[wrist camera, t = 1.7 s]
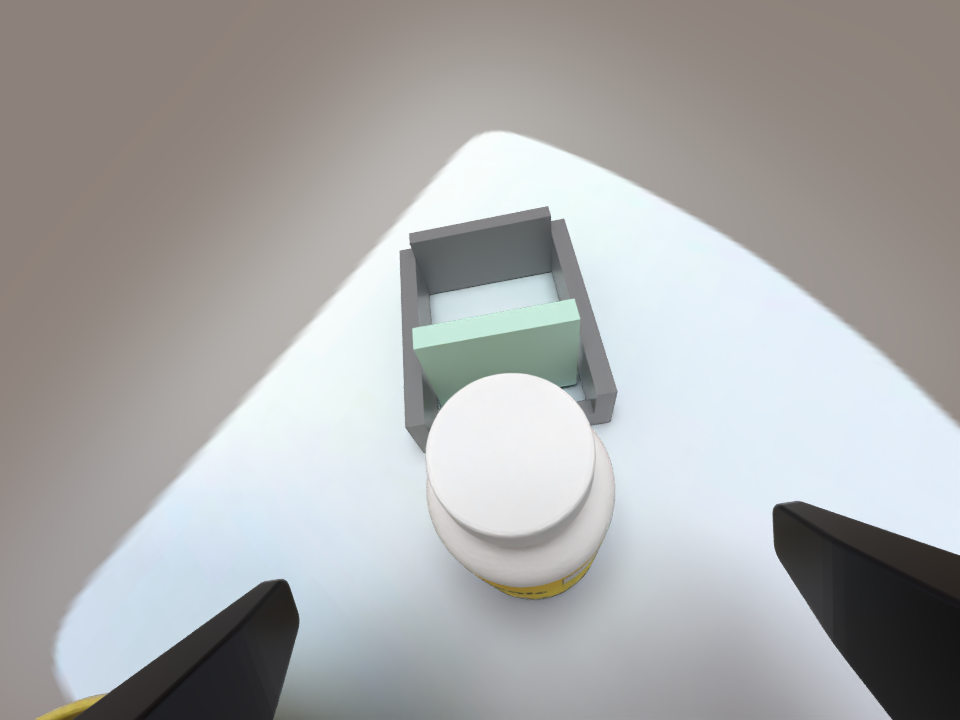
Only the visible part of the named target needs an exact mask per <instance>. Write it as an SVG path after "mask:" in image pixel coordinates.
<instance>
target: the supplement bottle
mask: <svg viewBox="0 0 960 720" xmlns="http://www.w3.org/2000/svg"><path fill="white" fill-rule="evenodd" d="M425 459H426V470H427V503H428V508H429V513H430V517H431V520H432V523H433V525H434V528H435V530H436V532H437V534H438V536H439V537H440V539H441V541H442V542H443V544H444V545H445V547H446V548H447V549H448V551H449V552H450V553H451V554H452V555H453V556H454V557H455V558H456V559H457V560H458V561H459V562H460V563H461V564H462V565H463V566H464V567H465V568H466V569H468V570H469V571H471V572H472V573H474V574H475V575H476V576H477V577H479V578H481V579H482V580H484V581H485V582H487V583H488V584H490V585H492V586H493V587H495V588H496V589H498V590H500V591H502V592H504V593H506V594H508V595H511V596H514V597H517V598H522V599H531V600H533V599H545V598H550V597H553V596H556V595H558V594H561V593H563V592H564V591H566V590H568V589H569V588H571V587H572V586H573V585H575V584H576V583H577V582H578V581H579V580H580V579H581V578H582V577H583V576H584V575H585V574H586V572H587V571H588V569H589V568H590V566H591V564H592V562H593V560H594V558H595V556H596V554H597V552H598V550H599V548H600V546H601V543H602V541H603V539H604V537H605V535H606V533H607V530H608V528H609V525H610V522H611V518H612V515H613V509H614V502H615V479H614V473H613V468H612V464H611V461H610V458H609V455H608V453H607V451H606V448H605V446H604V444H603V443H602V441H601V439H600V438H599V436H598V435H597V433H596V432H595V431H594V430H593V429H592V427H591V426H590V423H589V421H588V419H587V417H586V415H585V413H584V412H583V410H582V409H581V407H580V406H579V405H578V403H577V402H576V401H575V400H574V399H573V398H572V397H571V396H570V395H569V394H568V393H566V392H565V391H564V390H563V389H561V388H560V387H558V386H557V385H555V384H553V383H551V382H550V381H547V380H545V379H542V378H540V377H536V376H533V375H528V374H521V373H503V374H496V375H491V376H487V377H484V378H481V379H479V380H476V381H474V382H472V383H470V384H469V385H467V386H465V387H464V388H462V389H461V390H459V391H458V392H457V393H456V394H454V395H453V396H452V397H451V398H450V399H449V400H448V401H447V402H446V403H445V405H444V406H443V407H442V409H441V410H440V411H439V413H438V414H437V416H436V418H435V420H434V422H433V424H432V426H431V429H430V432H429V435H428V440H427V444H426V457H425Z"/></svg>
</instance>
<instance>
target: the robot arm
mask: <svg viewBox="0 0 960 720" xmlns="http://www.w3.org/2000/svg"><path fill="white" fill-rule="evenodd" d="M773 535H774V547H775V551H776V554H777V556H778V558H779V560H780V562H781V563H782V565H783V566H784V568H785V570H786V571H787V573H788V574H789V576H790V577H791V579H792V580H793V582H794V584H795V585H796V587H797V588H798V590H799V591H800V593H801V594H802V596H803V598H804V599H805V601H806V602H807V604H808V605H809V607H810V609H811V610H812V612H813V613H814V615H815V616H816V618H817V619H818V621H819V623H820V624H821V626H822V627H823V629H824V630H825V632H826V633H827V635H828V636H829V638H830V639H831V641H832V642H833V644H834V645H835V646H836V648H837V649H838V650H839V652H840V653H841V654H842V656H843V657H844V658H845V660H846V661H847V662H848V663H849V665H850V666H851V667H852V669H853V670H854V671H855V672H856V674H857V675H858V676H859V678H860V679H861V680H862V681H863V683H864V684H865V685H866V687H867V688H868V689H869V690H870V692H871V693H872V694H873V696H874V697H875V698H876V699H877V701H878V702H879V703H880V705H881V706H882V707H883V708H884V710H885V711H886V712H887V714H888V715H889V716H890V717H891V719H892V720H960V555H957V554H954V553H951V552H948V551H945V550H942V549H939V548H936V547H933V546H930V545H928V544H925V543H922V542H919V541H916V540H913V539H910V538H907V537H904V536H901V535H898V534H895V533H892V532H889V531H886V530H884V529H881V528H878V527H875V526H872V525H869V524H866V523H863V522H860V521H857V520H854V519H851V518H848V517H845V516H842V515H839V514H837V513H834V512H831V511H828V510H825V509H822V508H819V507H816V506H813V505H810V504H807V503H804V502H801V501H793V502H787V503H780V504H776V505H775V506H774V508H773ZM298 628H299V614H298V610H297V607H296V604H295V601H294V598H293V595H292V592H291V589H290V586H289V584H288V582H287V581H286V580H284V579H277V580H270V581H264V582H262V583H260V584H259V585H257V586H256V587H255V588H253V589H252V590H251V591H249V592H248V593H246V594H245V595H244V596H242V597H241V598H239V599H238V600H237V601H235V602H234V603H233V604H231V605H230V606H228V607H227V608H226V609H224V610H223V611H222V612H220V613H219V614H217V615H216V616H215V617H213V618H212V619H210V620H209V621H208V622H206V623H205V624H204V625H202V626H201V627H199V628H198V629H197V630H195V631H194V632H192V633H191V634H190V635H188V636H187V637H186V638H184V639H183V640H181V641H180V642H179V643H177V644H176V645H174V646H173V647H172V648H170V649H169V650H168V651H166V652H165V653H163V654H162V655H161V656H159V657H158V658H157V659H155V660H154V661H152V662H151V663H150V664H148V665H147V666H145V667H144V668H143V669H141V670H140V671H139V672H137V673H136V674H134V675H133V676H132V677H130V678H129V679H127V680H126V681H125V682H123V683H122V684H121V685H119V686H118V687H116V688H115V689H114V690H112V691H111V692H110V693H108V694H107V695H105V696H104V697H103V698H101V699H100V700H98V701H97V702H96V703H94V704H93V705H92V706H90V707H89V708H87V709H86V710H85V711H83V712H82V713H80V714H79V715H78V716H76V717H75V718H74V719H72V720H273V718H274V715H275V711H276V708H277V705H278V702H279V698H280V694H281V691H282V687H283V683H284V680H285V676H286V673H287V669H288V665H289V662H290V658H291V654H292V651H293V647H294V643H295V640H296V636H297V633H298Z"/></svg>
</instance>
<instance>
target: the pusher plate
mask: <svg viewBox="0 0 960 720" xmlns="http://www.w3.org/2000/svg"><path fill="white" fill-rule="evenodd" d="M412 332H413V350H414V352H415V354H416V356H417V358H418V360H419V362H420V364H421V365H422V367H423V369H424V371H425V373H426V375H427V377H428V379H429V381H430V383H431V385H432V387H433V389H434V391H435V393H436V395H437V397H438V399H439V401H440V403H441V405H442V407H443V406H444V405H445V403H446V402H447V401H448V400H449V399H450V398H451V397H452V396H453V395H454V394H456V393H457V392H458V391H459V390H461V389H462V388H464V387H465V386H467V385H469V384H470V383H472V382H474V381H476V380H479V379H481V378H484V377H487V376H491V375H496V374H503V373H521V374H528V375H533V376H536V377H540V378H542V379H545V380H547V381H550V382H551V383H553V384H555V385H557V386H558V387H563V386H568V385H574V384H576V380H577V365H578V349H579V333H580V316H579V313H578V309H577V306H576V302H575V299H569V300H563V301H558V302H552V303H547V304H542V305H536V306H531V307H525V308H520V309H514V310H509V311H503V312H498V313H493V314H487V315H482V316H476V317H471V318H465V319H460V320H454V321H449V322H444V323H438V324H433V325H427V326H422V327H416V328H412Z"/></svg>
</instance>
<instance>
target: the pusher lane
mask: <svg viewBox="0 0 960 720" xmlns="http://www.w3.org/2000/svg"><path fill="white" fill-rule="evenodd" d="M409 237H410V245H411V249H406V250H401V251H400V277H401V307H402V338H403V369H404V400H405V428H406V429H407V430H408V432H409V433H410V435H411V436H412V437H413V439H414V440H415V441H416V443H417V444H418V445H419V447H420V448H421V450H422V451H423V452H424V453H425V452H426V444H427V440H428V435H429V432H430V429H431V426H432V424H433V422H434V420H435V418H436V416H437V414H438V406H437V395H436V393H435V391H434V389H433V387H432V385H431V383H430V381H429V379H428V377H427V375H426V373H425V371H424V369H423V367H422V365H421V364H420V362H419V360H418V358H417V356H416V354H415V352H414V350H413V332H412V328H416V327H422V326H427V325H431V312H430V298H429V295H430V294H435V293H441V292H446V291H451V290H457V289H462V288H467V287H473V286H478V285H483V284H489V283H494V282H499V281H505V280H510V279H515V278H521V277H526V276H531V275H536V274H542V273H547V272H552V273H553V277H554V281H555V285H556V288H557V292H558V296H559V300H560V301H563V300H569V299H575V302H576V306H577V309H578V313H579V316H580V333H579V349H578V365H577V368H578V371H579V375H580V379H581V383H582V387H583V390H584V394H585V398H586V400H583V401H577V403H578V405H579V406H580V407H581V409H582V410H583V412H584V413H585V415H586V417H587V419H588V421H589V423H590V425H594V424H600V423H606V422H610V421H611V417H612V413H613V409H614V404H615V400H616V396H617V389H616V385H615V382H614V379H613V376H612V372H611V369H610V366H609V363H608V359H607V356H606V353H605V350H604V346H603V343H602V340H601V337H600V333H599V330H598V327H597V324H596V320H595V317H594V314H593V311H592V308H591V304H590V301H589V298H588V295H587V291H586V288H585V285H584V282H583V278H582V275H581V272H580V269H579V265H578V262H577V259H576V256H575V252H574V249H573V246H572V243H571V239H570V236H569V233H568V230H567V226H566V223H565V220H564V219H560V220H555V221H551V215H550V211H549V208H548V206H547V207H542V208H537V209H531V210H526V211H521V212H516V213H511V214H506V215H501V216H496V217H491V218H486V219H481V220H476V221H471V222H466V223H461V224H455V225H450V226H445V227H440V228H435V229H430V230H425V231H420V232H415V233H410V234H409Z"/></svg>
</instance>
